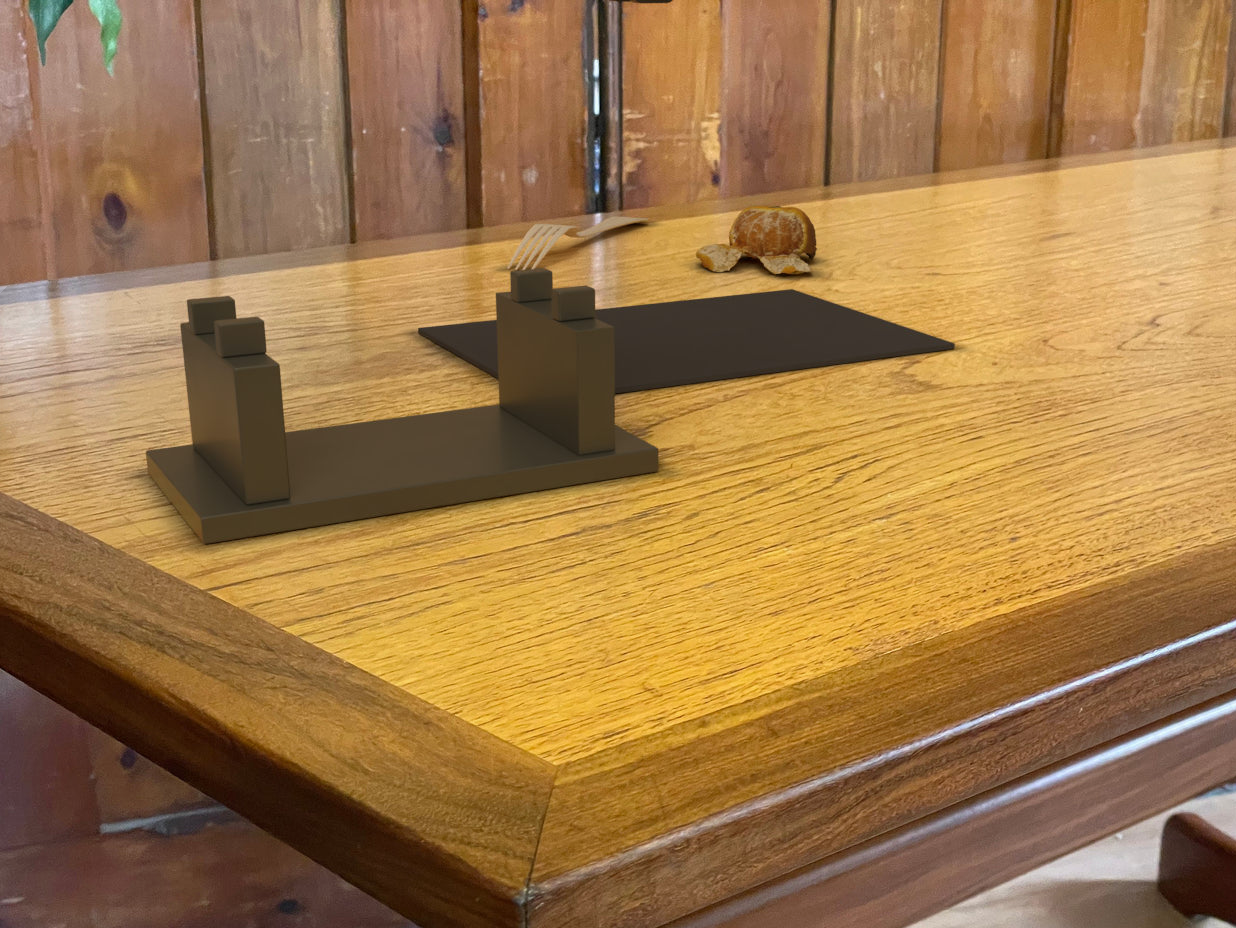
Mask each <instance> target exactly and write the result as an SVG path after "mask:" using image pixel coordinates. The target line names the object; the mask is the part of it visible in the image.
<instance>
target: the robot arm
mask: <svg viewBox="0 0 1236 928" xmlns="http://www.w3.org/2000/svg"><path fill="white" fill-rule="evenodd" d="M609 1H610V2H620V3H621V2H622V3H625V2H627V3H630V2H632V3H634V4H669V3H672V2H673V1H674V0H609Z"/></svg>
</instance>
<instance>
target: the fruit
mask: <svg viewBox="0 0 1236 928" xmlns="http://www.w3.org/2000/svg"><path fill="white" fill-rule="evenodd" d="M728 240H729V243H712V244H711V243H710V244H706V245H703V246H701V247H700V248H699V249H698V250H697V251H696V252H695V256H696V258H697V259H699V261H701V264H702V266H703V267H704V268H707V269H708V270H709V271H712V272H717V273H723V272H726V271H728V272H730V269H732V268H733V267H734V266H735V265H736V264H737V263H739V259H740V258H741V255H746V256H747V258H750V257H751V258H752V259H758V260H760V263H762V264H763V267H764V268H766V269H767V270H768V271H769V272H770V273H772V274H773V275H777V274H778V275H779V274H781V273H783V274H787V275H801V274H803V273H808V272H809V273H810V272H811V273H813V272H814V269H813V268H812V267H810V265H809V264H808V263H807V262H805V260H802V259H801V256H802V255H803V254H805V255H806V256H807V257H808V260H813V259H814V258H815V256H816V254H817V253H816V252H817V250H818V247H817V237H816V229H815V226H814V223H813V222H812V221H811V219H810V217H809V216H808V215H807V214H806V212H805V211H803V210H802V209H801V208H798V207H795V206H780V205H753V206H748V207H746V208H744V209H742V211H740V213H738V215H737V217H736V218H735V220H734V221H733V223H732V226H731V227H730V230H729V234H728Z"/></svg>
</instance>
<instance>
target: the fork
mask: <svg viewBox="0 0 1236 928" xmlns="http://www.w3.org/2000/svg"><path fill="white" fill-rule="evenodd" d="M649 221H650V219H649V218H646V217H645V218H644V217H632V216H616V215H612V216H610V217H607V218H606V219H604V220H602V221H600V222H599V223H597V224H595V225H593V226H591V227H589V228H587V229H585V230H583V231H582V228H581V227H579V226H576V225H564V224H550V223H535V224H534V225H532V226H531V227H530V229H529V230H528V231H527V232H526V234H525V235H524V237H523V238H522V240H521V241H520V243H519V245H518V247H517V248H516V250H515V252H514V254H513V256H512V258H511V260H510V262H509V263H508V266H507V267H506V269H507V270H510V269H511V267H512V265H513V264H514V262H515V261H516V259H517V258H518V257H519V255H520V254H521V252H522V251H523V249H524V248H525V247H526V246H527V245H528V243H529V242H530V243H529V245H528V246H527V247H526V249H525V251H524V252H523V254H522V256H521V257H520V260H519V261H518V263H517V265H516V266H515V269H514V270H515V271H517V270H518V269H519V268H520V266H521V265H522V264H523V262H524V261H525V259H526V258H527V256H528V255H529V253H530V252H531V251H532V250H533V251H532V253H531V254H530V256H529V258H528V259H527V260H526V263H525V264H524V266H523V267H522V270H527V268H528V266H529V265H530V263H531V262H532V261H533V259H534V258H535V256H536V255H537V254H538V253H539V251H540V250H541V249H542V248H543V249H542V250H541V252H540V253H539V256H537V259H536V260H535V262H534V263H533V264H532V267H531V268H530V269H536V267H537V266H538V265H539V264H540V262H541V261H542V260H543V258H544V257H545V256H546V255H547V253H548V252H549V251H550V250H551V249H552V247H553V246H554V245H555V244H556V243H557V242H558V240H559V239H560V238H561V237H563V235H565V236H566V237H569V238H579V239H581V238H583V239H584V238H587V237H591V236H594V235H598V234H600V233H603V232H606V231H609V230H612V229H616V228H620V227H624V226H627V225H631V224H635V223H636V224H637V223H642V224H643V223H649ZM531 239H532V240H531ZM530 240H531V241H530ZM539 240H540V241H539ZM547 241H548V242H547ZM536 244H537V245H536ZM545 244H546V245H545ZM544 245H545V246H544ZM543 246H544V247H543ZM534 247H535V248H534Z"/></svg>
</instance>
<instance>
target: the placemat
mask: <svg viewBox="0 0 1236 928" xmlns="http://www.w3.org/2000/svg"><path fill="white" fill-rule="evenodd" d="M595 319H597V320H599V321H602V322H604V323H606V324H608V325H611V326H613V327H614V375H615V395H616V394H622V393H623V394H624V393H630V392H631V393H632V392H638V391H644V390H645V391H647V390H653V389H661V388H669V387H675V386H683V385H691V384H699V383H706V382H713V381H714V382H715V381H721V380H722V381H723V380H729V379H736V378H743V377H744V378H745V377H751V376H752V377H753V376H758V375H767V374H774V373H781V372H789V371H797V370H805V369H812V368H820V367H825V366H826V367H828V366H835V365H840V364H841V365H842V364H849V363H858V362H864V361H872V360H873V361H874V360H880V359H887V358H894V357H902V356H910V355H916V354H917V355H918V354H925V353H932V352H941V351H947V350H955V347H956V346H955V342H951V341H949V340H945V339H942V338H939V337H937V336H933V335H930V334H927V333H925V332H922V331H918V330H916V329H913V328H911V327H910V328H909V327H908V326H904V325H901V324H898V323H894V322H892V321H888V320H885V319H882V318H879V317H877V316H874V315H871V314H868V313H865V312H861V311H859V310H855V309H853V308H849V307H847V306H844V305H840V304H837V303H835V302H832V301H829V300H826V299H823V298H820V297H817V296H814V295H812V294H811V295H810V294H807V293H805V292H802V291H800V290H799V291H798V290H795V289H793V288H789V289H781V290H780V289H779V290H770V291H761V292H754V293H753V292H752V293H751V292H750V293H742V294H741V293H740V294H734V295H733V294H732V295H722V296H713V297H704V298H703V297H702V298H693V299H683V300H674V301H665V302H655V303H646V304H645V303H644V304H637V305H636V304H634V305H626V306H617V307H607V308H597V309H596V308H595ZM417 333H418V334H419V335H421V336H423V337H425V338H426V339H428V340H430V341H431V342H433V343H435V344H437V345H438V346H440V347H442V348H444V349H445V350H447V351H449V352H450V353H452V354H454V355H455V356H457V357H459V358H461V359H463V360H464V361H466V362H468V363H469V364H471V365H473V366H474V367H476V368H478V369H480V370H481V371H484V373H487V374H489V375H491V376H492V377H493V378H496V379H497V380H499V377H498V347H497V319H490V320H482V321H480V320H479V321H473V322H463V323H461V322H460V323H452V324H444V325H443V324H442V325H434V326H433V325H432V326H423V327H418V328H417Z"/></svg>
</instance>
